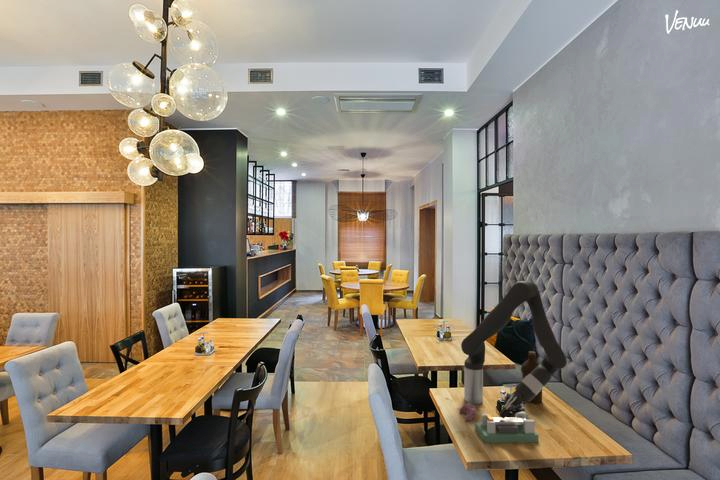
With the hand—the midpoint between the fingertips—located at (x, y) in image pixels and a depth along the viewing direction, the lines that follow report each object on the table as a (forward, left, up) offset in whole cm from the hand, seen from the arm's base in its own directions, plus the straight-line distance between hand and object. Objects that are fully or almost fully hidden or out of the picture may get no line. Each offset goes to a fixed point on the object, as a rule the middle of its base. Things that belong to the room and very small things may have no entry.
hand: (500, 416), depth 157 cm
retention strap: (0, +3, -3) cm, 4 cm away
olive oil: (-34, +31, -8) cm, 47 cm away
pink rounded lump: (-17, -8, -8) cm, 21 cm away
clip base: (0, +2, -8) cm, 8 cm away
